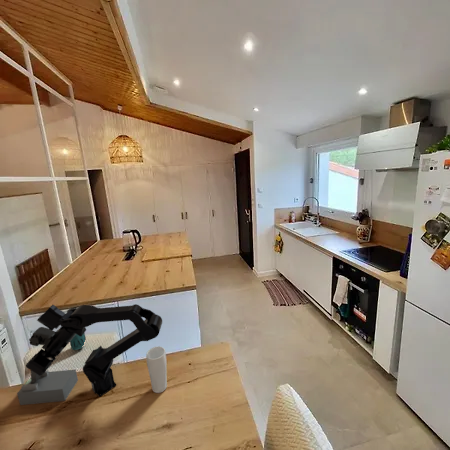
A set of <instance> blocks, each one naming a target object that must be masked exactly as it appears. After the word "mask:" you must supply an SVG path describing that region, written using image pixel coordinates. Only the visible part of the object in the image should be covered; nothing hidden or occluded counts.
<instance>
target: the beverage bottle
mask: <svg viewBox="0 0 450 450" xmlns="http://www.w3.org/2000/svg"><path fill="white" fill-rule="evenodd" d="M75 308H76V307H71V308H69V309H67V310H66V313H67V312H68V311H69V310H70V309H75ZM85 333H86V331H85V332H84V334H83V335H82V336H79V335H77V334H76V335H75V336H74V338H73V339H72V340H71V341H70V342H69V344H70V346H71V347H70V349H72V350H73V351H77V350H81V349H82V348H83V347H82V346H83V345H84V342H85V340H86V341H87V338H86V334H85Z"/></svg>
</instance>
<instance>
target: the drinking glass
mask: <svg viewBox="0 0 450 450" xmlns="http://www.w3.org/2000/svg"><path fill="white" fill-rule="evenodd" d="M145 355H146V366H147V370H148V374H149V379H150V380H149V381H150V384H151V389H152V391H153V393H156V394H160V393H162V392H164V391H165V390H166V389H167V387H168V381H167V375H168V373H167V354H166V349H165V348H164V347H163V346H154V347H151V348H150V349H149V350H148V351H147V352H146V354H145Z"/></svg>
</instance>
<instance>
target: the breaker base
mask: <svg viewBox="0 0 450 450" xmlns="http://www.w3.org/2000/svg"><path fill="white" fill-rule="evenodd" d="M78 381H79V379H78V373H77V369H75V368H74V369H66V370H65V369H64V370H57V371H55V370H53V371H49V370H48V369H47V370H46V371H45V373H44V374H43V375H40V378H39V379H38V380H37V381H36V383H35V384H31V377H29V378H28V380H27V381H25V383H24V384H22V385H21V388H20V389H19V390H18V391H17V392H16V394H17V398H18V402H19V405H20V406H23V405H24V406H25V405H34V404H44V403H56V402H65V401H66V400H67V398H68V397H69V395H70V393H71V392H72V390H73V389H74V388H75V386H76V384H77V383H78Z"/></svg>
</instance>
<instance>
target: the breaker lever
mask: <svg viewBox="0 0 450 450" xmlns="http://www.w3.org/2000/svg"><path fill="white" fill-rule="evenodd" d="M27 369H28V368H27ZM28 371H30V378H31V384H35V383H36V381H37V380H38V379H39V378H40V375H38V374H36V373H35V372H33V371H31V370H30V369H28Z"/></svg>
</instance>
